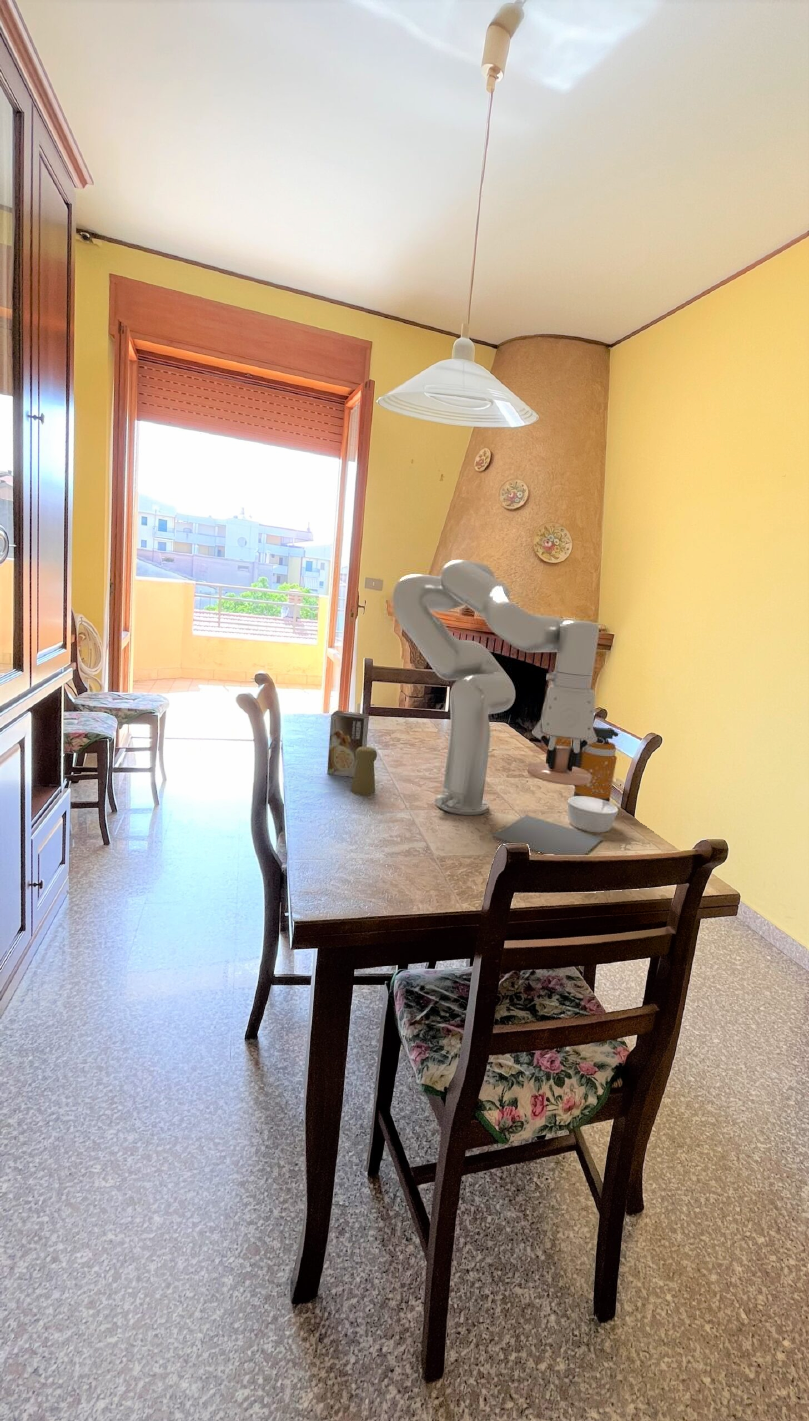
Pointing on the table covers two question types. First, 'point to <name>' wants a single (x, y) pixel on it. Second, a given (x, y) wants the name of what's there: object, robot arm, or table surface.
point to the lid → (560, 770)
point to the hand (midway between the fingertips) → (559, 767)
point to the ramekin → (591, 813)
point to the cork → (364, 771)
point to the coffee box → (346, 741)
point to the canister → (598, 765)
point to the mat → (547, 837)
